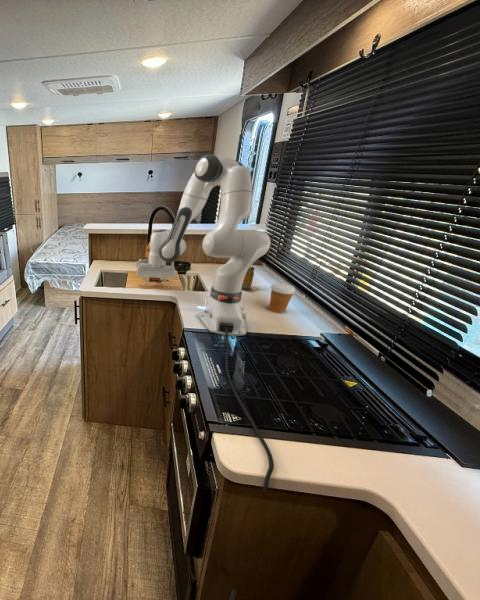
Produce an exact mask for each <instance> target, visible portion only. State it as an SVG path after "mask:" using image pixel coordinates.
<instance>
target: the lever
mask: <svg viewBox="0 0 480 600" xmlns="http://www.w3.org/2000/svg"><path fill="white" fill-rule="evenodd" d="M150 280H151V281H156V280H158V281H160V280H161V278H154V277H150Z"/></svg>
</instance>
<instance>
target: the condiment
mask: <svg viewBox="0 0 480 600" xmlns="http://www.w3.org/2000/svg"><path fill="white" fill-rule="evenodd" d="M254 275H255V267H254V266H252V265H251V266H250V267H249V269H248V270H247V272H246V274H245V277H244V281H243V284H242V288H241V290H243V291H247V292H254V291H256V290H257V288H256V287H254V286H253V287H252V284H253V280H254Z"/></svg>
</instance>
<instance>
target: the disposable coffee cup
mask: <svg viewBox="0 0 480 600" xmlns="http://www.w3.org/2000/svg"><path fill="white" fill-rule="evenodd" d="M295 293H296V287H295V286H293V285H292V284H288V283H285V282H274V283H272V284H271V286H270V299H269V307H268V309H269V311H271V312H273V313H278V314H279V313H281V314H283V313H285V312H286V309H287V307H288V305H289V303H290V301H291V299H292V297H293V295H294V294H295Z"/></svg>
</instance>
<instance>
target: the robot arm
mask: <svg viewBox="0 0 480 600" xmlns="http://www.w3.org/2000/svg"><path fill="white" fill-rule="evenodd" d="M217 186H218V188H220V190H221V191H220V211H219V217H218V220H217V222H216V224H215V226H214V227H213V228H212V229H211V230H210V231H208V232H207V233H206V235H205V236H204V237H203V239H202V243H201V247H202V250H203V252H204V254H205V255H206V256H208V257H213V258H217V259H229V260H227V262H226V263H224V264H222V265H220V266H219V267H217V268H216V270H215V272H214V277H213V282H212V286H211V287H210V291H209V292H210V293H209V294H210V295H209V297H207V298H206V299H205V300H204V305H203V306H200V305H197V309H201V310H202V312H200V313H199V314H198V316H197V317H198V318H199V320H200V321H201V322H202V323H203V325H204V326H205V327H206V328H207V330H208V331H209V332H211V333H213V334H218V335H223V336H225V346H226V354H225V359H224V360H225V361H224V364H225V365H224V367H225V373H226V376H227V377H226V378H227V380H228V383H229V386H230V388H231V390H232V392H233V394H234V396H235V398H236V400H237V402H238V403H239V405H240V407H241V409H242V410H243V413H244V414H245V416H246V417H247V419H248V421H249V422H250V424H251V426H252V428H253V429H254V431H255V433H256V435H257V437H258V439H259V441H260V443H261V444H262V446H263V447H264V450H265V452H266V456H267V458H268V468H267V471H266V474H265V477H264V481H263V484H262V485H263V486H262V490H263V491H264V492H268V490H269V485H270V480H271V477H272V474H273V472H274V466H275V464H274V459H273V455H272V452H271V450H270V448H269V446H268V444H267V443H266V441H265V438H264V437H263V436H262V433H261V431H260V430H259V428H258V426H257V424H256V423H255V421H254V420H253V418H252V416H251V415H250V413H249V411H248V409H247V408H246V406H245V404H244V402H243V401H242V399H241V397H240V395H239V394H238V391H237V389H236V387H235V385H234V383H233V381H232V377H231V374H230V368H229V357H230V345H229V336H231V337H240V336H241V337H242V336H246V335H247V328H246V324H245V323H246V322H245V320H246V319H247V313H245V312H244V313H243V311H244V310H245V307H243V306H242V303H243V301H242V295H243V294H242V293H243V291H242V289H241V288H242V284H243V281H244V277H245V274H246V272H247V270H248V269H249V267H250V266H251V267H252V265H253V264H254V262H257V260H259V259H260V258H261V257H263V256H265V255H266V254H267V253H268V251H269V250H270V249H271V248H270V247H271V243H272V242H271V237H270V235H269V234H268V233H267V232H265V231H262V230H256V229H238V226H239V224H240V223H241V222H242V221H244V220H245V219H247V218H248V217H249V216H250V215H251V214H252V211H253V182H252V175H251V171H250V169H249V168H248V167H247V166H246V165H244V164H243V163H242V162H240V161H239V160H237V159H232V158H229V157H227V156H224V155H216V154H204V155H202V156H201V157H199V159H198V160H197V162H196V163H195V166H194V172H193V173H192V175H191V177H190V178H189V180H188V181H187V185H186V186H185V188H184V190H183V193H182V196H181V200H180V202H179V203H180V204H179V206H178V210H177V213H176V216H175V220H174V222H173V224H172V226H171V229H170V231H168V229H164V228H163V229H156V230H154V231H153V232H152V233H151V234H150V239H149V240H150V241H149V242H150V252H149V258H148V260H145V259H139V260H137V261H136V277H138V278H143V280H144V282H145V283H144V285H147V286H148V285H149V280H147V278H149V277H154V278H160V279H163V280H162V281H160V286H161V287H162V286H165V282H166V281H167V279H174V278H175V277H176V268H175V262H176V261H177V260H178V259H179V258H180V257H181V256H182V255H183V254H184V253H185V252H186V250H187V242H186V240H185V239H183V238H184V236H185V233H186V231H187V228H188V227H189V225H190V223H192V221H193V220H194V219H195V218H196V217H197V216H198V215H199V214H200V213H202V210H203V209H204V207H205V205H206V204H207V201H208V198H209V196H210V193H211V191H212V190H213V188H214V187H217ZM237 592H238V590H236V589H232V590H231V593H230V596H229V599H228V600H235V598H236V594H237Z"/></svg>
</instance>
